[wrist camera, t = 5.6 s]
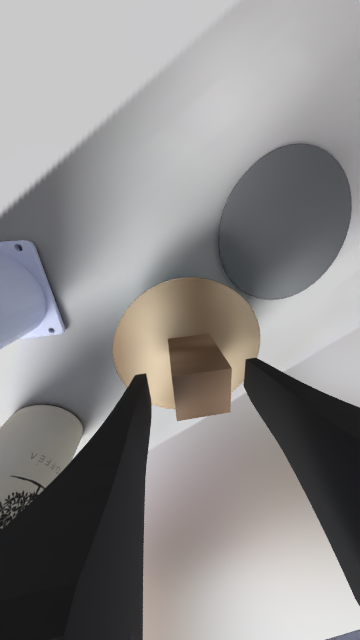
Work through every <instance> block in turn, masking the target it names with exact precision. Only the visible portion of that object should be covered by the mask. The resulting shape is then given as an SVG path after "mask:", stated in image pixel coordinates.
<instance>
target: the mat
mask: <svg viewBox="0 0 360 640" xmlns="http://www.w3.org/2000/svg"><path fill="white" fill-rule="evenodd" d="M350 218H351V192H350V187H349V183H348V179H347V177H346V175H345V172H344V170H343V169H342V167H341V165H340V164H339V162H338V161H337V160H336V159H335V158H334V157H333V156H332V155H331V154H329V153H328V152H327V151H325V150H323V149H321V148H319V147H316V146H312V145H308V144H295V145H288V146H285V147H282V148H279V149H277V150H275V151H273V152H270V153H269V154H267V155H266V156H264V157H263V158H261V159H260V160H259V161H258V162H256V163H255V164H254V165H253V166H252V167H251V168H250V169H249V170H248V171H247V172H246V173H245V174H244V175H243V176H242V178H241V179H240V180H239V181H238V183H237V184H236V186H235V187H234V189H233V190H232V192H231V194H230V196H229V198H228V200H227V203H226V205H225V207H224V210H223V214H222V217H221V222H220V228H219V251H220V257H221V260H222V264H223V266H224V269H225V271H226V273H227V275H228V276H229V278H230V279H231V281H232V282H233V283H234V284H235V285H236V286H237V287H238V288H239V289H241V290H242V291H244V292H245V293H247V294H250V295H252V296H254V297H257V298H261V299H268V300H275V299H283V298H287V297H290V296H293V295H295V294H298V293H300V292H301V291H303V290H305V289H307V288H308V287H309V286H311V285H312V284H314V283H315V282H316V281H317V280H318V279H319V278H320V277H321V276H322V275H323V274H324V273H325V272H326V271H327V270H328V268H329V267H330V266H331V264H332V263H333V261H334V260H335V258H336V257H337V255H338V253H339V251H340V249H341V247H342V245H343V243H344V240H345V238H346V235H347V231H348V228H349V223H350Z"/></svg>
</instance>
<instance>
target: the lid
mask: <svg viewBox="0 0 360 640" xmlns="http://www.w3.org/2000/svg"><path fill="white" fill-rule="evenodd" d="M259 347H260V329H259V324H258V321H257V318H256V316H255V313H254V311H253V310H252V308H251V307H250V305H249V304H248V303H247V302H246V300H245V299H244V298H243V297H242V296H240V295H239V294H238V293H237V292H236V291H234V290H232V289H231V288H229V287H227V286H225V285H223V284H220V283H218V282H215V281H213V280H209V279H205V278H197V277H183V278H177V279H172V280H168V281H165V282H162V283H160V284H158V285H155V286H153V287H151V288H150V289H148V290H147V291H145V292H144V293H142V294H141V295H140V296H139V297H138V298H136V299H135V300H134V302H133V303H132V304H131V305H130V306H129V307H128V309H127V310H126V312H125V313H124V315H123V316H122V318H121V320H120V322H119V324H118V326H117V328H116V332H115V335H114V340H113V359H114V364H115V367H116V370H117V373H118V375H119V376H120V378H121V380H122V381H123V383H124V384H125V385H126V387H127V388H128V386H129V384H130V383H131V381H132V379H133V377H134V376H135V375H138V374H145V373H146V375H147V380H148V385H149V391H150V396H151V404H153V405H156V406H159V407H163V408H168V409H176V416H177V421H181V420H186V419H192V418H198V417H204V416H210V415H216V414H222V413H228V412H230V402H231V392H232V391H233V390H235V389H236V388H237V387H238V386H239V385H240V384H241V383H242V382H243V381H244V374H245V361H246V359H250V358H257V356H258V353H259Z"/></svg>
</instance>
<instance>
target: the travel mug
mask: <svg viewBox="0 0 360 640" xmlns="http://www.w3.org/2000/svg"><path fill="white" fill-rule="evenodd" d="M82 435H83V427H82V424H81V423H80V421H79V420H78V418H77V417H75V416H74V415H73V414H72V413H70V412H68V411H67V410H64V409H62V408H59V407H55V406H50V405H33V406H28V407H25V408H22V409H20V410H18V411H17V412H15V413H14V414H13V415H12V416H11V417H10V418H9V419H8V420H7V421H6V422H5V423H4V425H3V426H2V427H1V428H0V530H1V529H3V528H4V527H5V526H6V525H7V524H8V523H9V522H10V521H11V520H13V519H14V518H15V517H16V516H17V515H18V514H19V513H20V512H21V511H22V510H23V509H24V508H25V507H26V506H27V505H29V504H30V503H31V502H32V501H33V500H34V499H35V498H36V497H37V496H38V495H39V494H40V493H41V492H42V491H43V490H44V489H45V488H46V487H47V486H48V485H49V484H50V483H51V482H52V481H53V480H54V479H55V478H56V477H57V476H58V475H59V474H60V473H61V472H62V471H63V470H64V468H65V467H66V466H67V465H68V464H69V463H70V462H71V461H72V459H73V456H74V454H75V452H76V449H77V447H78V445H79V442H80V440H81V438H82Z"/></svg>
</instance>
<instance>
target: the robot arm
mask: <svg viewBox="0 0 360 640" xmlns="http://www.w3.org/2000/svg"><path fill="white" fill-rule="evenodd" d="M19 245H21V247H22V251H21V250H20V249H19V247H18V246H19ZM51 328H53V329H54V330H55V331H52V330H51ZM64 331H65V326H64V324H63V321H62V318H61V315H60V313H59V310H58V307H57V305H56V302H55V299H54V296H53V294H52V291H51V288H50V285H49V283H48V280H47V277H46V275H45V272H44V269H43V266H42V264H41V261H40V258H39V255H38V253H37V250H36V247H35V245H34V244H33V243H32V242H30V241H27V240H17V241H4V242H0V349H2V348H4V347H5V346H7V345H9V344H10V343H12V342H14V341H16V340H17V339H25V338H34V337H42V336H51V335H59V334H62V333H63V332H64ZM244 388H245V390H246V392H247V394H248V396H249V398H250V400H251V402H252V403H253V405H254V407H255V408H256V410H257V411H258V413H259V414H260V416H261V418H262V419H263V421H264V422H265V423H266V425H267V427H268V428H269V430H270V431H271V433H272V434H273V436H274V437H275V439H276V440H277V442H278V444H279V445H280V447H281V449H282V450H283V452H284V454H285V456H286V457H287V459H288V461H289V463H290V465H291V467H292V468H293V470H294V472H295V474H296V476H297V478H298V480H299V482H300V483H301V486H302V488H303V490H304V491H305V493H306V495H307V497H308V499H309V501H310V503H311V505H312V507H313V509H314V511H315V513H316V515H317V517H318V519H319V521H320V523H321V525H322V527H323V530H324V531H325V534H326V536H327V538H328V540H329V542H330V544H331V546H332V549H333V551H334V553H335V555H336V557H337V559H338V561H339V563H340V566H341V568H342V570H343V572H344V574H345V577H346V579H347V581H348V583H349V585H350V588H351V590H352V592H353V594H354V596H355V599H356V600H357V602H358V604H359V605H360V408H359V407H357V406H354V405H352V404H349V403H346V402H344V401H342V400H339V399H337V398H335V397H332V396H329V395H328V394H325V393H323V392H321V391H319V390H317V389H314V388H312V387H310V386H308V385H306V384H304V383H302V382H300V381H298V380H296V379H294V378H292V377H290V376H289V375H287V374H285V373H283V372H281V371H279V370H278V369H276V368H274V367H272V366H270V365H268V364H267V363H265V362H263V361H261V360H259V359H257V358H250V359H246V361H245V374H244ZM150 426H151V396H150V391H149V385H148V380H147V375H146V373H145V374H138V375H135V376H134V377H133V379H132V381H131V383H130V384H129V386H128V388H127V389H126V391H125V392H124V394H123V396H122V397H121V399H120V400H119V402H118V403H117V405H116V406H115V408H114V409H113V411H112V412H111V413H110V415H109V416H108V417H107V419H106V420H105V422H104V423H103V424H102V426H101V427H100V428H99V429H98V431H97V432H96V433H95V434H94V436H93V437H92V438H91V439H90V440H89V442H88V443H87V444H86V445H85V446H84V448H83V449H82V450H81V451H80V452H79V453H78V454H77V455H76V456H75V458H74V459H73V460H72V461H71V462H70V463H69V464H68V465H67V466H66V467H65V468H64V470H63V471H62V472H61V473H60V474H59V475H58V476H57V477H56V478H55V479H54V480H53V481H52V482H51V483H50V484H49V485H48V486H47V487H46V488H45V489H44V490H43V491H42V492H41V493H40V494H39V495H38V496H37V497H36V498H35V499H34V500H33V501H32V502H31V503H30V504H29V505H27V506H26V507H25V508H24V509H23V510H22V511H21V512H20V513H19V514H18V515H17V516H16V517H15V518H14V519H13V520H11V521H10V522H9V523H8V524H7V525H6V526H5V527H4V528H3V529H1V530H0V640H143V639H142V638H143V634H142V633H143V628H142V627H143V543H144V541H143V540H144V538H143V537H144V500H145V499H144V497H145V475H146V463H147V454H148V445H149V436H150ZM326 640H360V630H356V631H353V632H350V633H346V634H343V635H340V636H336V637H333V638H330V639H326Z"/></svg>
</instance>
